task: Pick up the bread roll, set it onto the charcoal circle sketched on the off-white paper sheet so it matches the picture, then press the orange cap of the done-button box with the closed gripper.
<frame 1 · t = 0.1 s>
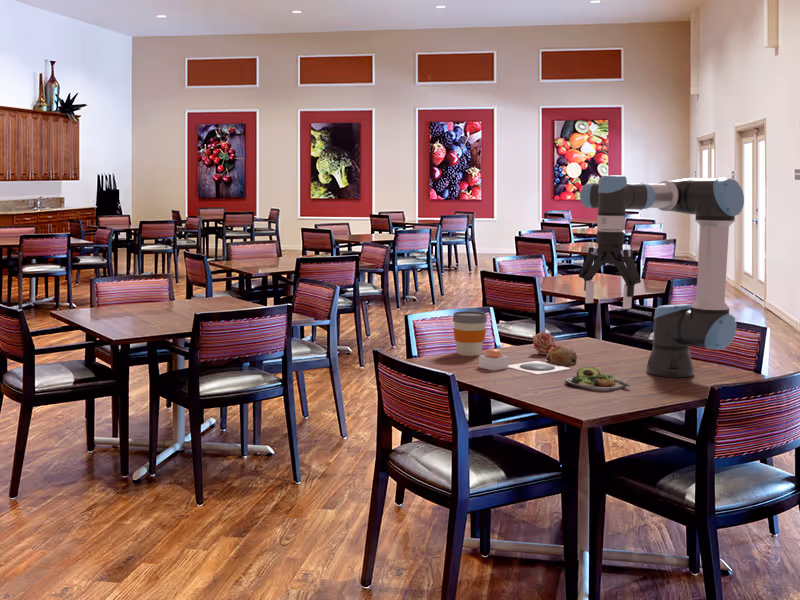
hand: (607, 305, 245), 28 cm above the table, fingers open, 13 cm apart
done button housing: (493, 367, 294), on the table
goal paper: (537, 368, 294), on the table
flower: (544, 354, 319), on the table
salad plate: (594, 386, 271), on the table
bread roll: (561, 363, 304), on the table
done button: (493, 354, 294), point 4 cm above the table, slide at 0.0 cm
reusable coffee cup: (469, 354, 320), on the table
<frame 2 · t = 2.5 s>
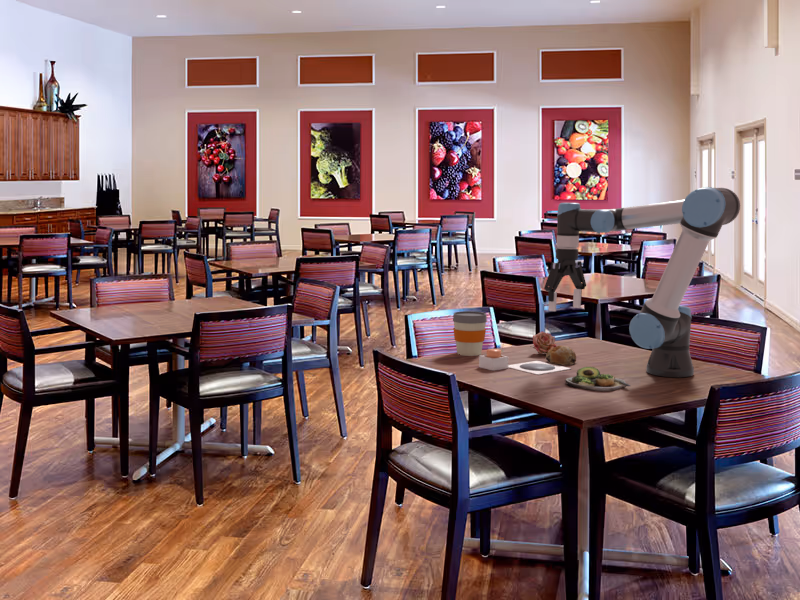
hand: (564, 309, 298), 20 cm above the table, fingers open, 13 cm apart
nothing on the table moved.
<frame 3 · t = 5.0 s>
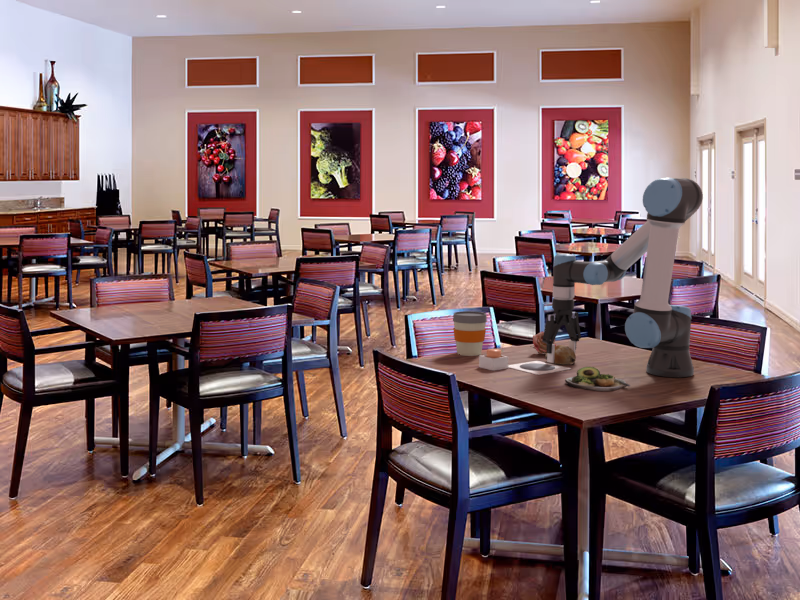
hand: (561, 360, 304), 1 cm above the table, fingers closed on bread roll, 10 cm apart
bread roll: (560, 363, 305), on the table, touching gripper
everything else where it was.
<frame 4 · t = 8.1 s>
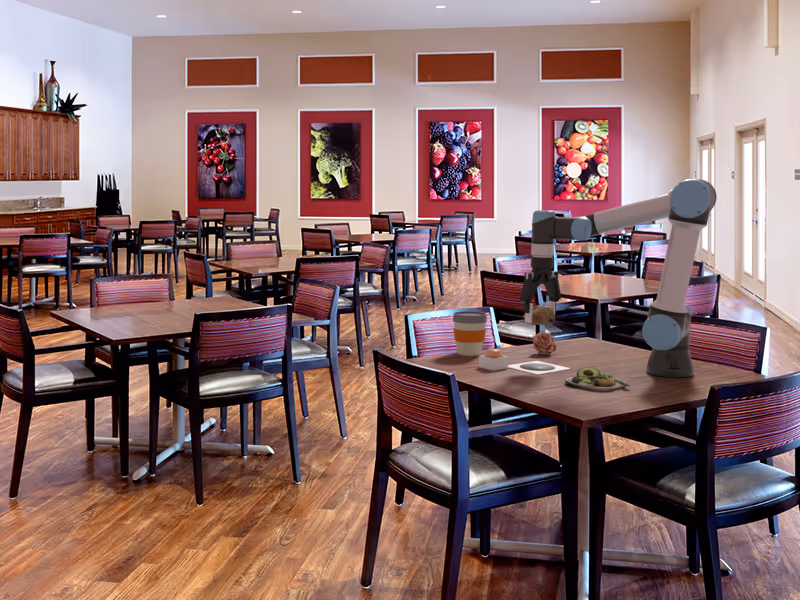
hand: (539, 321, 293), 16 cm above the table, fingers closed on bread roll, 10 cm apart
bread roll: (538, 323, 294), point 15 cm above the table, touching gripper
everything else where it was.
when the fingers open (2 cm above the table, at t = 11.3 s): bread roll drops 1 cm, resting on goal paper.
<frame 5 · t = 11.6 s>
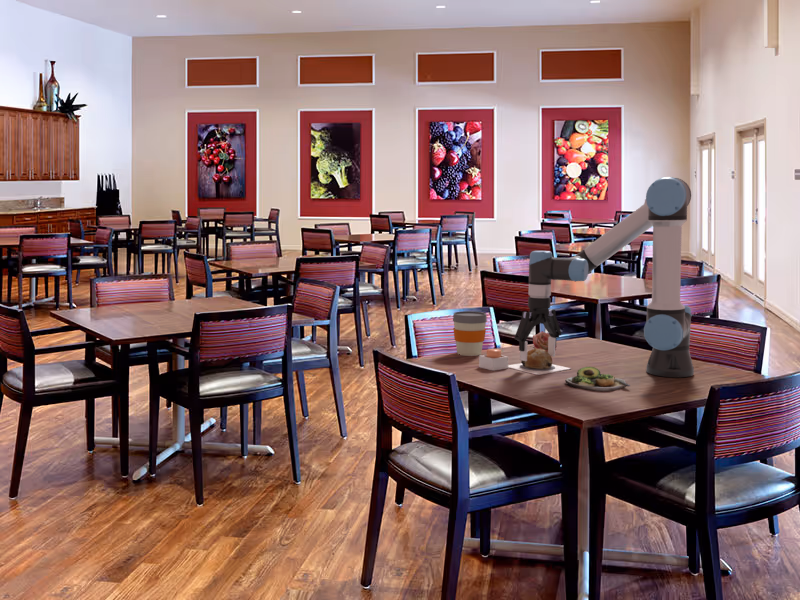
hand: (537, 358, 294), 3 cm above the table, fingers open, 13 cm apart
bread roll: (536, 367, 294), resting on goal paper
everything else where it was.
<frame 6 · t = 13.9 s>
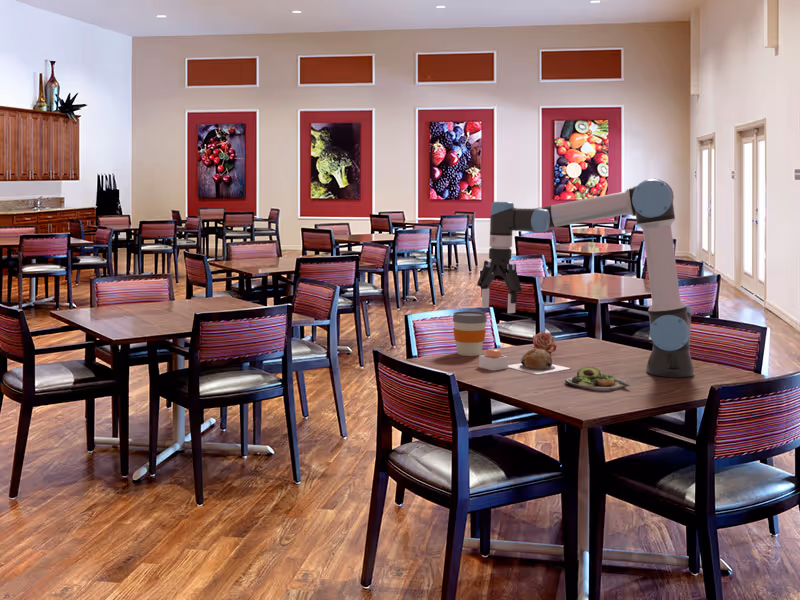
hand: (497, 310, 292), 20 cm above the table, fingers open, 13 cm apart
nothing on the table moved.
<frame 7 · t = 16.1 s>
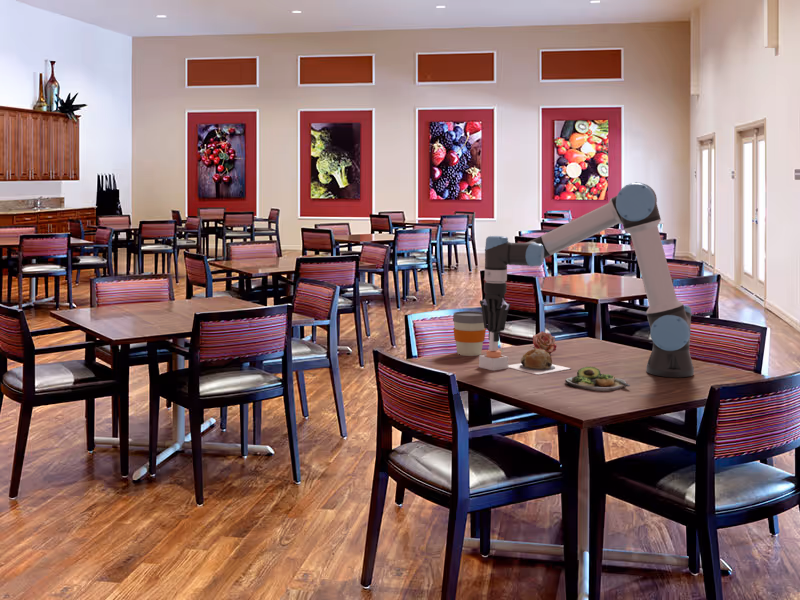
hand: (493, 350, 294), 6 cm above the table, fingers closed
done button: (493, 355, 294), point 4 cm above the table, slide at 0.3 cm, touching gripper
everything else where it was.
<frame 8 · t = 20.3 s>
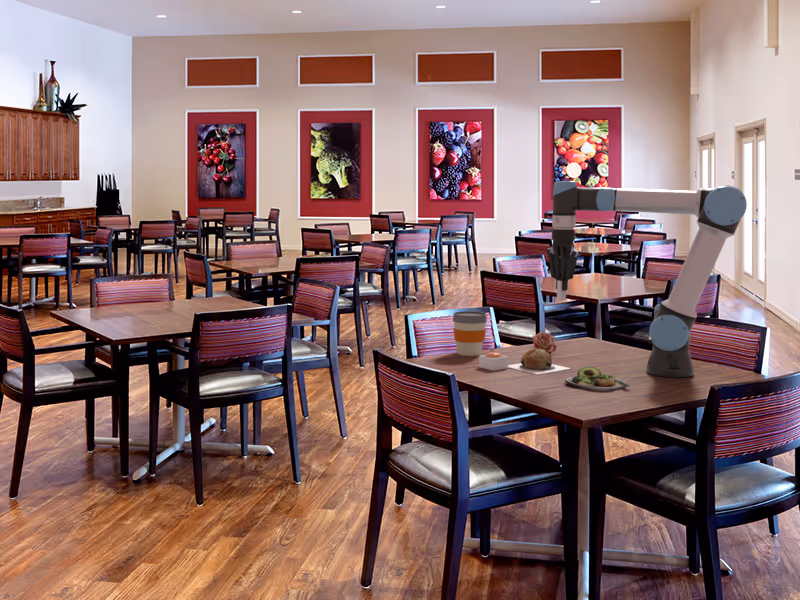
hand: (561, 299, 285), 24 cm above the table, fingers closed
done button: (493, 358, 294), point 3 cm above the table, slide at 1.2 cm
everything else where it was.
at the end: bread roll inside the target area on the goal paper (0.6 cm from its centre), point 0.2 cm above the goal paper's base; the gripper is holding nothing; done button slide at 1.2 cm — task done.
